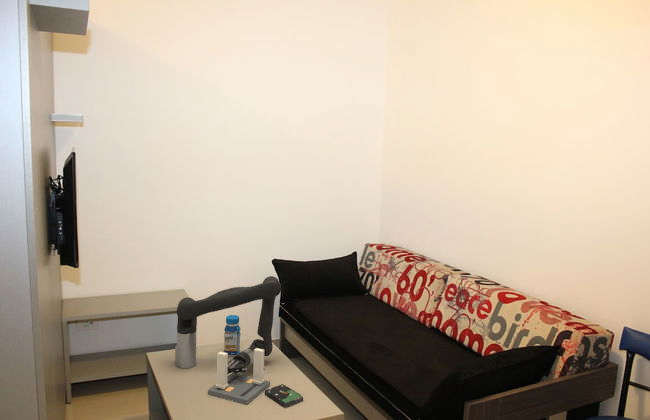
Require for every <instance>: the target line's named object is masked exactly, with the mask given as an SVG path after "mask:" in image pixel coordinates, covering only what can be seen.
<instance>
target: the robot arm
mask: <svg viewBox="0 0 650 420" xmlns="http://www.w3.org/2000/svg"><path fill="white" fill-rule="evenodd" d="M281 291H282V285H281V282H280V280H279V279H278V278H277V277H275V276H272V275H271V276H267V277H266V278H264V280H263V282H261V283H259V284H256V285H252V286H237V287H236V286H234V287H230V288H226V289H223V290H220V291H217V292H215V293H213V294H211V295H210V296H208V297H205V298H203V299H197V300H195V299H194V298H192V297H188V296H187V297H184V298H181V300H179V302H178V304H177V308H176V315H177V324H176V345H175V346H174V348H175V349H174V350H175V351H174V355H175V356H174V365H176V366H177V367H178V368H180V369H191V368H193V367H195V366H196V365H197V327H198V326H197V325H198V318H199V317H200V316H203V315H206V314H209V313H214V312H219V311H222V310H223V311H224V310H226V309H231V308H234V307H238V306H239V307H240V306H241V305H245V304H248V303H252V302H254V301H260V300H261V308H260V314H259V319H258V326H257V335H258V336H259V337H261V338H262V339H260V338H256V339H254V340H253V341H252V342H251V345H250V346H249V347H248V348H246V349H244V350H242V351H240V353H239V354H237V355H236V356H233V358H232V359H230V360H228V373H227V376H229V375H230V374H231V373H238V374H241V373H245V372H247V368H248V367H250V366H251V365H252V364H254V350H255V349H256V348H259V349H263V350H264V357H269V356H270V355H271V354H272V351H273V340H272V339H273V338H272V329H273V325H274V323H273V322H274V315H275V314H274V311H275V310H274V309H275V301H276V298H277V296H279V295H280V293H281Z"/></svg>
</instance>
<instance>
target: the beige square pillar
mask: <svg viewBox="0 0 650 420" xmlns="http://www.w3.org/2000/svg"><path fill="white" fill-rule="evenodd" d="M216 354H217V355H216V384H214V385H215V387H217V388H221V389H225V388H226V387H228V384H227V376H228V375H227V373H228V362H229V359H228V358H229V356H228V353H225V352H224V351H219V352H217V353H216Z"/></svg>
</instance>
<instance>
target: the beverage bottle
mask: <svg viewBox="0 0 650 420" xmlns="http://www.w3.org/2000/svg"><path fill="white" fill-rule="evenodd" d="M225 317H226V318H225V324H226V325H225V326H224V333H223V340H224V341H223V344H224V345H223V349H224V350H223V352H225V353H228V357H234V356H236V355H237V354H239V353H240V352H241V347H240V346H241V326H240V316H238V315H236V314H229V315H227V316H225Z"/></svg>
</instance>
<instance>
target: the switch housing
mask: <svg viewBox="0 0 650 420" xmlns="http://www.w3.org/2000/svg"><path fill="white" fill-rule="evenodd" d="M252 380H253V376H249V375H246V374H242V373H233V372H232V373H229V374H228V375H227V384H228V387H226V388H225V389H221V388H217V387H215V385H216V384H214V385H213V386H212V387H209V389H207V394H208V395H209V396H210V395H211V396H213V397H217V398H220V397H221V398H220V399H224V398H226V399H225V400H228V399H229V401H231V400H233V401H232V402H235V401H236V402H235V403H239V404H242V403H243V405H249V404H250V403H251V402H252V401H253V400H254V399H256V398H257V397H258V396H260V395H261V394H262V393H263V392H265V390H267V389H269V387H270V386H271V381H270V380H266V379H264V382H263V383H262V384H261V385H259V384H255V383H252Z"/></svg>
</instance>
